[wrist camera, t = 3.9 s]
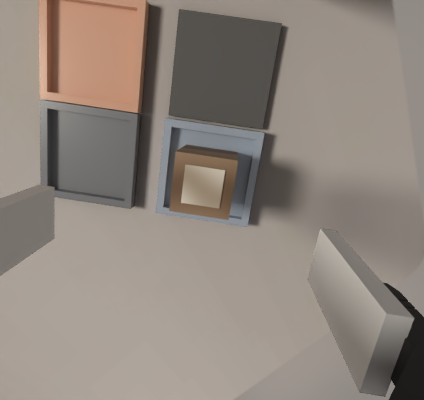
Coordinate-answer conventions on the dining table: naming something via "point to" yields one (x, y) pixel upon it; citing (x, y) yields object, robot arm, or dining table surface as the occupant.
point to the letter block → (203, 181)
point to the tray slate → (218, 139)
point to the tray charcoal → (89, 153)
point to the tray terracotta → (93, 52)
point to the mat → (223, 68)
